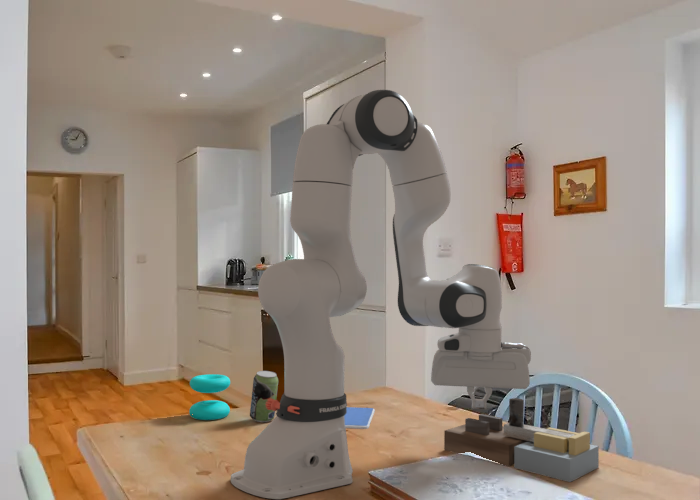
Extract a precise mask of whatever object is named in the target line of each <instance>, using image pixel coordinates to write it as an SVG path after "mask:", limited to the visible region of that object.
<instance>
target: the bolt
mask: <svg viewBox="0 0 700 500" xmlns="http://www.w3.org/2000/svg"><path fill="white" fill-rule="evenodd" d="M508 401H509V403H508V405H509V407H508V409H509V411H508V412H509V413H508V416H509V417H508V418H509V419H508V421H509V422H506V423H504V424H503V426H504V436H508V437H513V438H517V439H522V440H526V441H531V442H534V433H535V432H540V433H545V434H550V435H555V436H560V437H565V438H567V449H568V450H569V437H571V436H574V434H569V433H564V432H559V431H554V430H549V429H547V428H543V427H540V426H539V427H538V426H534V425H528V424H525V422H524V421H525V419H524V416H525V409H524V408H525V402H524V401H525V400H524V399H522V398H519V397H518V398H516V397H515V398H513V397H511V398H509V400H508Z"/></svg>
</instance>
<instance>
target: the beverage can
mask: <svg viewBox="0 0 700 500" xmlns="http://www.w3.org/2000/svg"><path fill="white" fill-rule="evenodd" d="M278 385H279V378H278V376H277V373H276V372H274V371H269V370H260V371H257V372H256V374H255V375H254V377H253V382H252V390H251V391H252V392H251V401H250V409H249V410H250V411H249V416H250V418H251V419H252V420H253V421H255V422H258V423H268V422H270V421H271V420H272V421H273V420H274V419H275V417H276V416H275V415H276V411H273V410H268V409H267V408H266V405H265V404H268V403H266V402H267V400H268V399H269V398H272V399H274V400H277V399H278V398H277V397H278V388H279V386H278ZM272 421H271V422H272Z"/></svg>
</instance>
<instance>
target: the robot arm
mask: <svg viewBox="0 0 700 500" xmlns="http://www.w3.org/2000/svg"><path fill="white" fill-rule="evenodd" d="M413 113H414V112H413V111H412V109H411V106H410V105H409V103H408V102H407V100H406V99H405V98H404V97H403V95H401V94H399V93H398V92H396V91H394V90H390V89H376V90H375V89H374V90H372V91H369V92H368V93H365V94H363V95H358V96H355V97H353V98H351V99H350V100H348V101H346V102H345V103H343V104H341V105H340V106H339V107H337V108H336V109H335V111H333V113H332V114H331V115H330V117H329V119H328V121H327V122H326V123H321V124H316V125H313V126H310V127H308V128H307V129H306V130H304V132H303V133H302V135H301V136H300V140H299V143H298V147H297V152H296V156H295V161H294V168H293V177H292V178H293V179H292V191H291V204H290V205H291V206H290V221H289V222H290V225H291V228H292V230H293V231H294V232H295V234H296V235H297V237H298V238H299V241H300V244H301V248H302V252H303V258H290V259H287V260H283V261H280V262H276V263H275V264H271V265H270V266H268V267H267V268H266V269H265V270H264V271H263V272H262V274H261V276H260V278H259V282H258V286H257V287H258V288H257V294H258V300H259V303H260V306H262V308H263V310H264V311H265V312H266V313H267V314H268V315H269V316H270V317H271V319H272V320H273V322H274V323H275V325H276V328H277V331H278V333H279V337H280V341H281V345H282V351H283V359H284V360H283V363H284V365H283V366H284V367H283V368H284V370H283V371H284V379H283V380H284V383H283V384H284V386H283V387H284V392H283V394H282V395H281V398H280V401H279V400H278V399H276V400H274V399H272V398H269V399H268V400H267V402H266V403H268V404H265V405H266V408H267V409H268V410H273V411H275V415H276V416H275V417H274V418H273V419H272V421H271V422H270V423H269V424H268V425H267V426H266V427H265V428H264V429H263V430H262V431H261V432H260V433H259V434H258V435H257V436H256V437H255V438H254V439H253V440H252V441H251V442H250V443H249V444H248V446H247V448H246V453H245V456H244V464H243V469H241V470H238V471H235V472H234V473H232V474H231V475H230V484H232V486H234V487H235V488H236V489H239V490H241V491H243V492H245V493H247V494H250V495H253V496H256V497H260V498H264V499H270V500H271V499H272V500H283V499H287V498H292V497H297V496H301V495H306V494H310V493H315V492H319V491H323V490H328V489H332V488H337V487H342V486H345V485H350V484H352V483H353V475H352V474H353V467H352V463H351V459H350V454H349V447H348V445H349V444H348V439H347V438H348V437H347V431H346V430H347V428H345V417H344V415H345V414H346V413H347V407H348V402H347V394H346V393H345V353H344V349H343V348H342V347H341V346H340V345H339V344H338V343H337V341H336V339H335V337H334V334H333V330H332V326H331V321H330V318H333V317H335V318H337V317H342V316H344V315H346V314H348V313H350V312H352V311H354V310H356V309H357V308H359V307H360V306H361V305H362V304H363V302H364V301H365V298H366V295H367V290H368V289H367V280H366V278H365V275H364V273H362V271H361V270H360V268H359V266H358V263H357V260H356V257H355V252H354V247H353V240H352V234H351V214H352V211H351V210H352V196H353V195H352V193H353V174H354V173H353V170H354V167H355V163H356V161H357V158H358V157H360V156H364V155H374V154H378V155H379V156H380V157H381V158H382V159H383V161H384V162H385V164H386V167H387V169H388V172H389V179H390V182H391V186H392V191H393V192H392V193H393V198H394V214H393V217H392V236H393V244H394V254H395V260H396V269H397V276H398V289H397V290H398V291H397V307H398V312H399V313H400V316H401V317H402V318H403V320H404V321H405V322H406V323H408V324H409V325H411V326H415V327H436V328H446V329H447V328H448V329H458V332H457V333H453V334H449V335H446V336H442V337H440V338H438V340H437V342H436V343H437V350H436V351H435V353H434V356H433V360H432V365H431V373H430V374H431V375H430V377H431V378H430V382H431V383H432V384H433V385H434V386H439V387H440V386H445V387H446V386H447V387H464V388H465V387H466V392H467V394H468V396H469V397H470V399H471V409H473V410H474V409H475V410H476V409H478V410H479V409H480V410H487V407H488V406H487V405H488V404H487V401H489V399H490V397H491V395H492V394H493V388H494V389H512V390H513V389H514V390H516V389H519V390H526V389H528V387H529V386H530V383H531V382H530V380H531V379H530V370H529V364H530V363H531V359H532V358H531V357H532V356H531V355H532V354H531V353H532V352H531V349H530V348H529V347H528V346H526V345H524V343H520V342H517V343H512V342H503V341H502V324H501V320H500V319H501V318H500V316H501V311H502V308H503V307H502V305H503V303H502V302H503V299H502V298H503V297H502V296H503V295H502V294H503V293H502V282H501V278H500V274H499V271H498V270H497V269H495V268H494V267H492V266H488V265H485V264H483V265H481V264H473V263H469V264H468V263H467V264H464V265H463V266H462V269H461V270H460V271H458V273H456V274H455V275H453V276H451V277H449V278H446V279H445V280H444V279H442V280H439V279H437V280H435V279H431V277H429V275H428V273H427V268H426V267H427V266H426V259H425V248H424V236H425V233H426V231H427V230H428V228H429V227H430V226H431V225H433V224H434V223H435V222H437V221H438V220H439V219H441V217H442V216H444V214H445V212H446V211H447V210H448V207H449V206H450V203H451V184H450V180H449V176H448V172H447V168H446V163H445V161H444V156H443V154H442V151H441V148H440V145H439V143H438V141H437V140H438V139H437V137H436V136H435V133H434V131H433V130H432V128H431V127H430V126H429V125H428V124H426V123H423V122H418V119H417V117H416V115H414V114H413ZM475 388H484V392H485V395H484V396H483V398H476V397H475V396H474V394H473V393H475Z"/></svg>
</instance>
